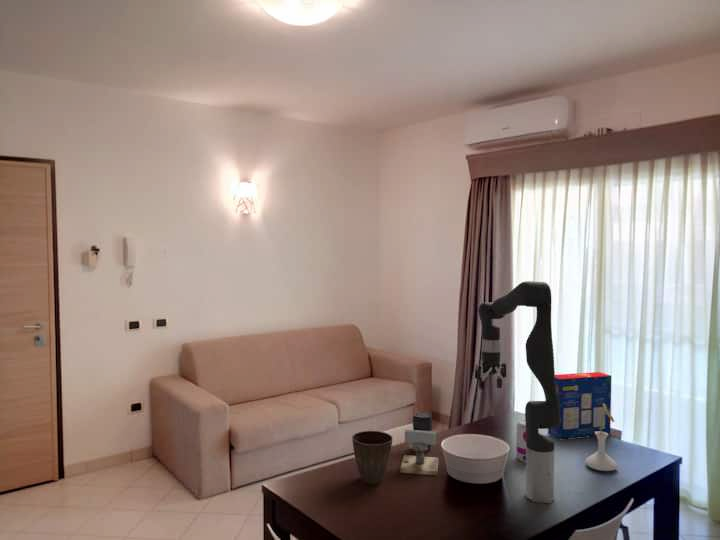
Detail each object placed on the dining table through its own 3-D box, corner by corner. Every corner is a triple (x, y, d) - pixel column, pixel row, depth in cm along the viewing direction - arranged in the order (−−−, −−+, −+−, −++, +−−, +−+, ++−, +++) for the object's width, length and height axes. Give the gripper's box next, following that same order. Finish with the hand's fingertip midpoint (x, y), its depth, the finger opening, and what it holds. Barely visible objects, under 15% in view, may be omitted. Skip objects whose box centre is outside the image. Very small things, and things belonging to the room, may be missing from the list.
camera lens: (431, 446, 230) (431, 412, 229) (431, 453, 222) (432, 418, 221) (412, 445, 230) (412, 411, 230) (412, 452, 222) (412, 417, 222)
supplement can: (540, 463, 212) (540, 426, 211) (519, 462, 212) (520, 425, 212) (533, 455, 220) (534, 419, 220) (514, 455, 220) (514, 419, 220)
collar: (435, 447, 209) (436, 430, 209) (435, 452, 203) (435, 435, 203) (405, 445, 211) (405, 428, 211) (404, 450, 205) (404, 432, 205)
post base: (438, 461, 213) (438, 444, 213) (437, 475, 199) (437, 457, 199) (404, 458, 215) (404, 442, 215) (400, 472, 202) (400, 454, 201)
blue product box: (598, 429, 254) (599, 372, 253) (610, 435, 246) (611, 375, 245) (548, 434, 246) (548, 375, 246) (558, 440, 239) (559, 379, 238)
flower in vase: (613, 476, 199) (614, 411, 199) (581, 469, 206) (583, 405, 205) (620, 465, 210) (622, 403, 209) (590, 459, 216) (591, 398, 216)
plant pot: (364, 468, 205) (365, 428, 204) (399, 477, 197) (399, 435, 197) (344, 482, 192) (344, 439, 192) (379, 492, 184) (380, 447, 184)
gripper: (482, 352, 213) (481, 392, 214) (510, 350, 219) (510, 389, 219) (471, 349, 220) (471, 388, 221) (499, 347, 226) (498, 385, 226)
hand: (490, 388), depth 220 cm, fingers open, 8 cm apart
